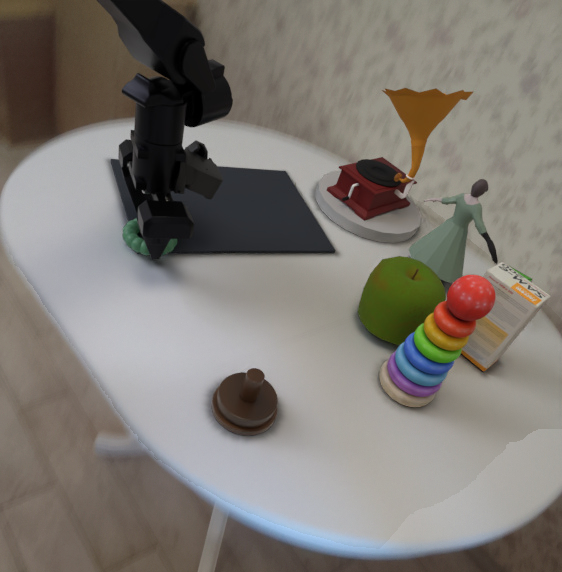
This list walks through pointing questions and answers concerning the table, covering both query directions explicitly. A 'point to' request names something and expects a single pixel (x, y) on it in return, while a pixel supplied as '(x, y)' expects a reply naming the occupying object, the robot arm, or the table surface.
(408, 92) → the gramophone
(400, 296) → the apple
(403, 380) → the stacking toy
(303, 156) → the table surface
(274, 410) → the stand
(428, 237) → the character figurine
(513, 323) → the supplement box
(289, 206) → the mat
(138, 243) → the ring
